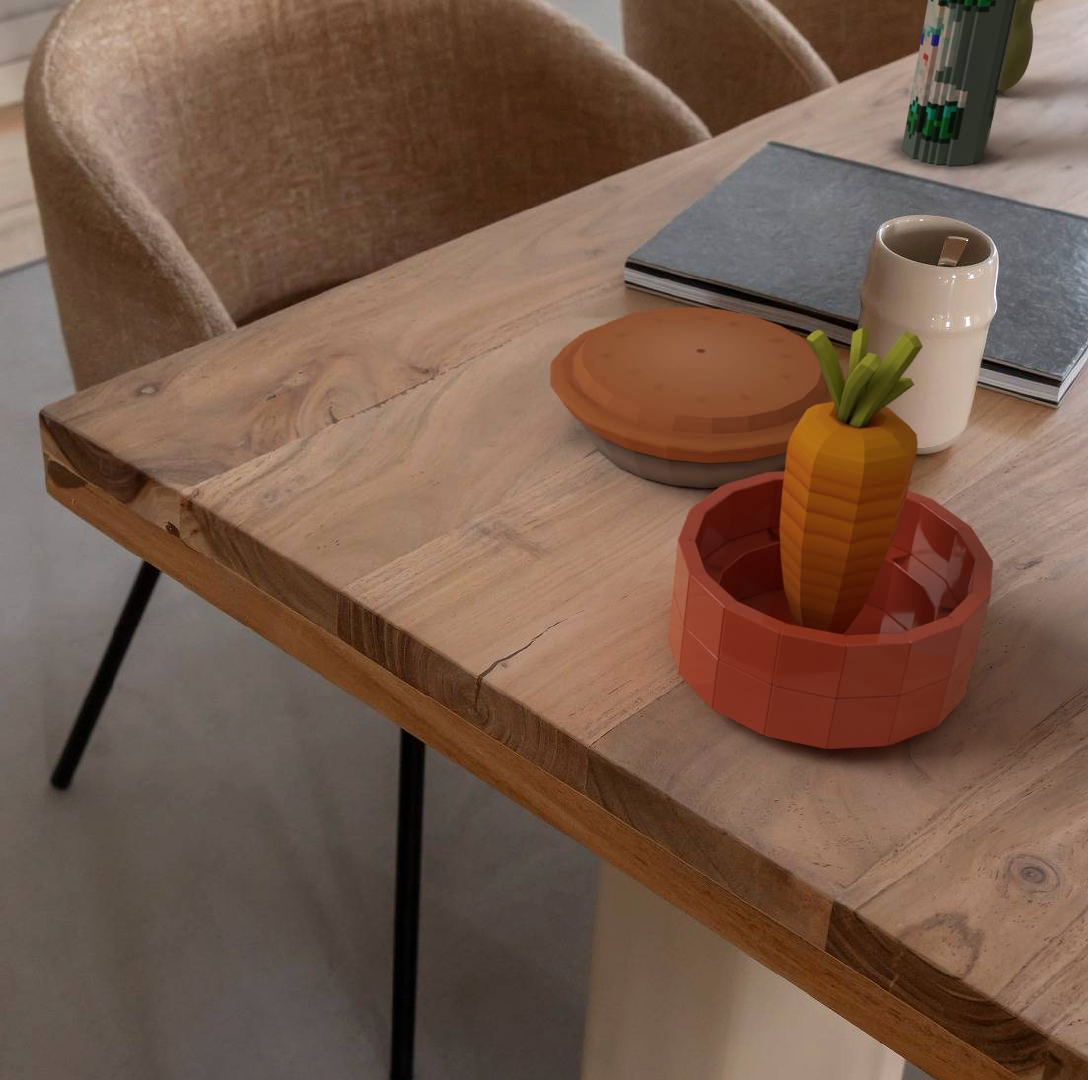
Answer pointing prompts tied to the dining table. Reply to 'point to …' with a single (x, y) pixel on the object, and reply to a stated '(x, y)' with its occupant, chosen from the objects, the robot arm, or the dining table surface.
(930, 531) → the bowl
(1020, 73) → the pear
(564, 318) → the dining table surface
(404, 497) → the dining table surface
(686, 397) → the pie
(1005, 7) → the can
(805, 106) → the dining table surface
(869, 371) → the carrot
